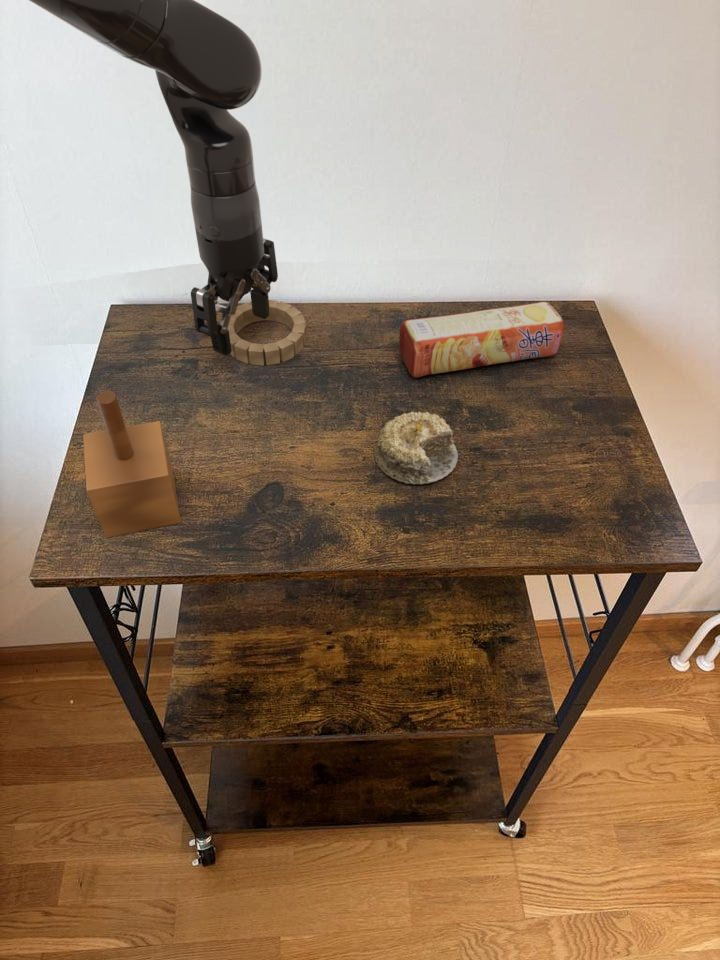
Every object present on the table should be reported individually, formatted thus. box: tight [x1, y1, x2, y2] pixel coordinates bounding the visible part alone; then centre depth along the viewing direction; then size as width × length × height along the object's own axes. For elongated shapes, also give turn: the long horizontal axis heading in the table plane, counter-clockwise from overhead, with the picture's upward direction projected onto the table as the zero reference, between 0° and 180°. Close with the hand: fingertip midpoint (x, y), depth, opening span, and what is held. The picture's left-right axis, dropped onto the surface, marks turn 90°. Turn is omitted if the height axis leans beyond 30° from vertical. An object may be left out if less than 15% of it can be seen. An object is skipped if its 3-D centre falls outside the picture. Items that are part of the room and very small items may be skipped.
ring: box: [227, 299, 307, 367], centre depth 100 cm, size 11×11×2 cm
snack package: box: [398, 301, 565, 379], centre depth 96 cm, size 21×7×7 cm, turn 105°
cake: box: [373, 411, 459, 485], centre depth 85 cm, size 10×10×5 cm
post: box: [82, 390, 182, 539], centre depth 75 cm, size 8×8×16 cm
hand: (242, 333), depth 95 cm, fingers open, 8 cm apart
